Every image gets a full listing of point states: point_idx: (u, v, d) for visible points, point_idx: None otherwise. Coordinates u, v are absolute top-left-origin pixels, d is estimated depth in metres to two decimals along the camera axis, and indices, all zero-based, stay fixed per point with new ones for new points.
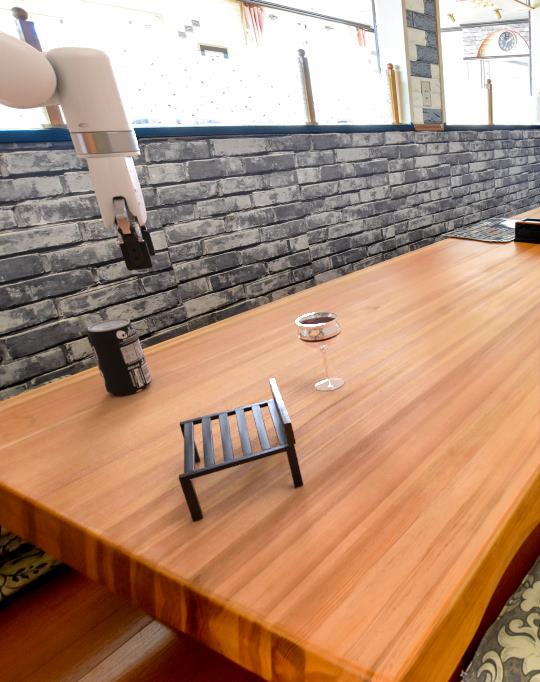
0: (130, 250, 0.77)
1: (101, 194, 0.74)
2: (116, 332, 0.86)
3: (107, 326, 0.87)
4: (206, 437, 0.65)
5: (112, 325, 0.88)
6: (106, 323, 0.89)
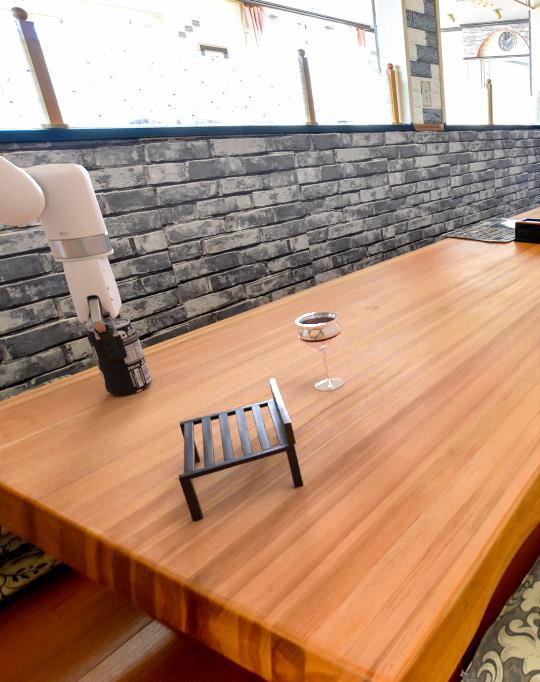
0: (106, 344, 0.84)
1: (76, 294, 0.80)
2: None
3: None
4: (206, 437, 0.65)
5: None
6: (106, 323, 0.89)
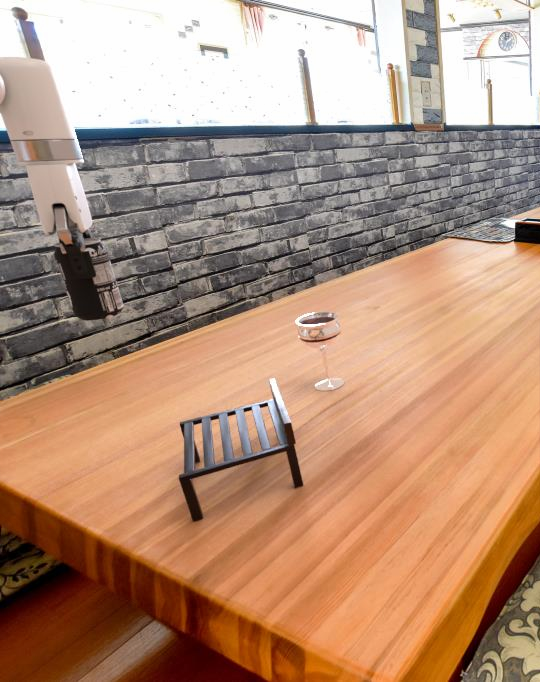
0: (72, 260, 0.79)
1: (40, 201, 0.75)
2: None
3: None
4: (206, 437, 0.65)
5: None
6: None
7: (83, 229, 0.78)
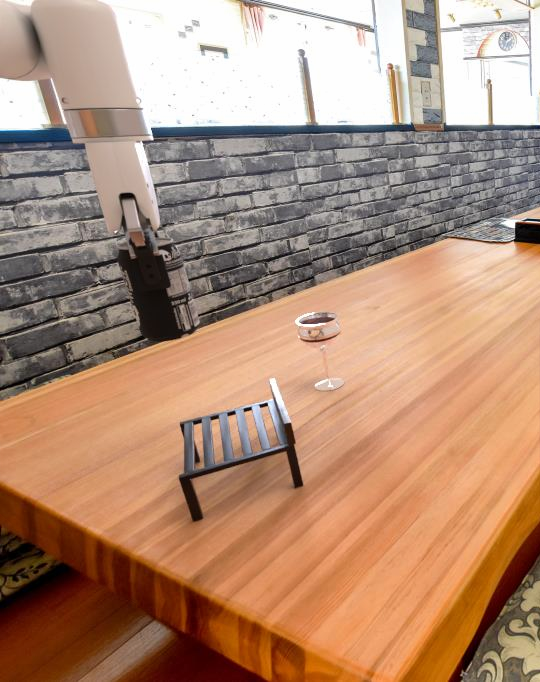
0: (143, 266, 0.61)
1: (104, 190, 0.57)
2: None
3: None
4: (206, 437, 0.65)
5: None
6: None
7: (156, 226, 0.61)
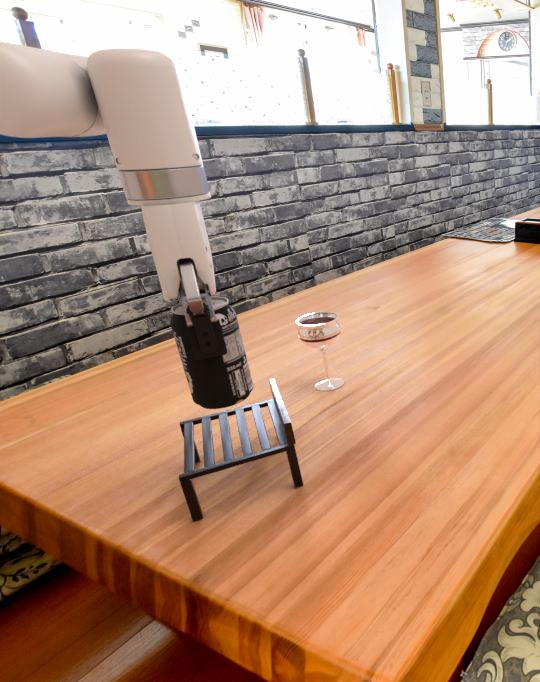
0: (200, 334, 0.56)
1: (161, 256, 0.52)
2: None
3: None
4: (206, 437, 0.65)
5: None
6: None
7: (214, 291, 0.56)
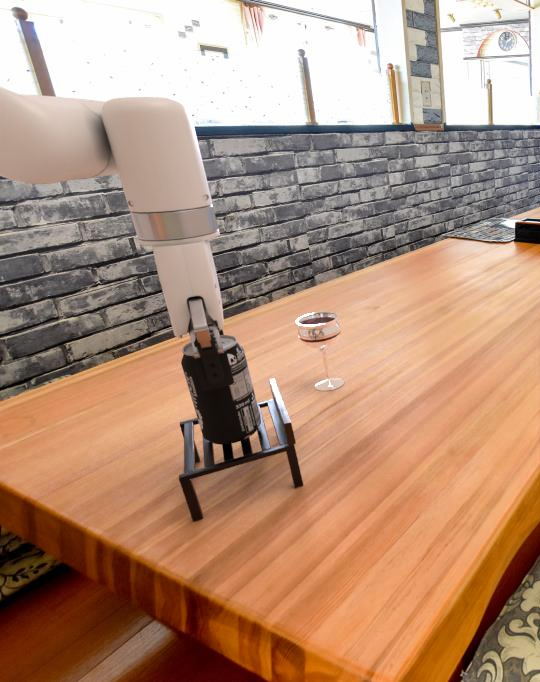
0: (207, 365, 0.57)
1: (172, 295, 0.54)
2: None
3: None
4: None
5: None
6: None
7: (223, 326, 0.58)
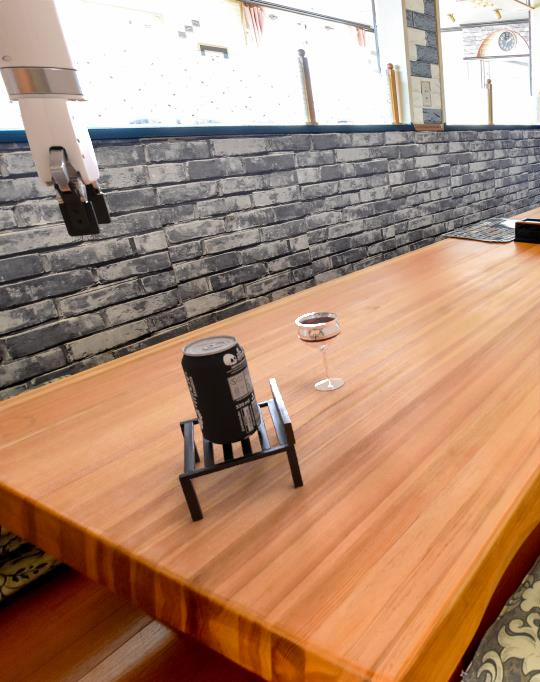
0: (71, 211, 0.65)
1: (35, 143, 0.62)
2: (223, 356, 0.60)
3: (208, 347, 0.61)
4: None
5: (214, 345, 0.62)
6: (204, 342, 0.63)
7: (87, 179, 0.66)
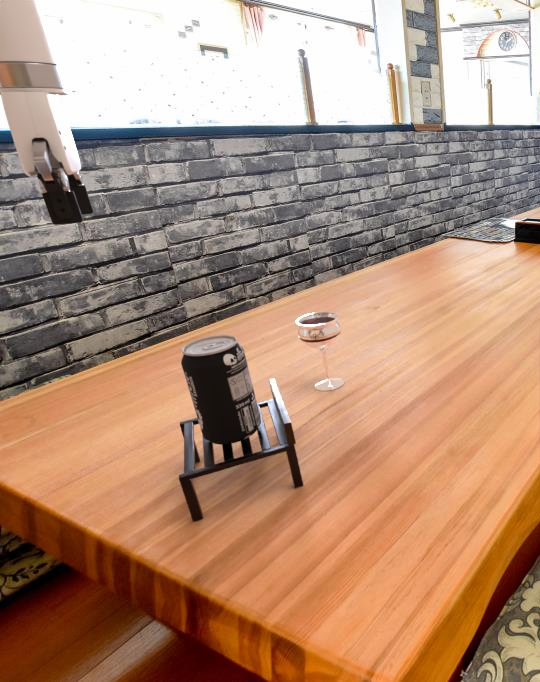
0: (54, 200, 0.67)
1: (18, 134, 0.64)
2: (222, 356, 0.60)
3: (208, 347, 0.61)
4: None
5: (214, 345, 0.62)
6: (204, 342, 0.63)
7: (69, 170, 0.68)
